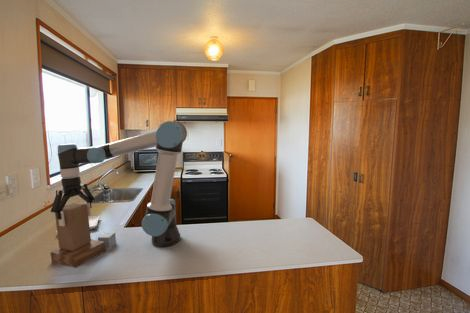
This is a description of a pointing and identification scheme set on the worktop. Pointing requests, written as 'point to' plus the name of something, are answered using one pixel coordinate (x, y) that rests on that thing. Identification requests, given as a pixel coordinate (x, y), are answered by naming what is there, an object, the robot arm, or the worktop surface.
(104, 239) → the slate cube
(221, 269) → the worktop surface
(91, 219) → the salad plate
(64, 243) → the block
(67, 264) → the plinth
